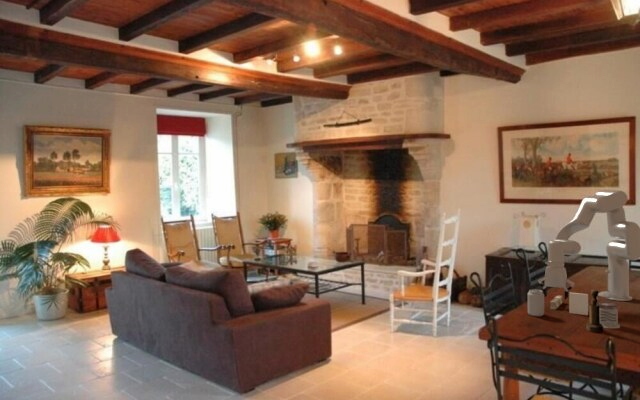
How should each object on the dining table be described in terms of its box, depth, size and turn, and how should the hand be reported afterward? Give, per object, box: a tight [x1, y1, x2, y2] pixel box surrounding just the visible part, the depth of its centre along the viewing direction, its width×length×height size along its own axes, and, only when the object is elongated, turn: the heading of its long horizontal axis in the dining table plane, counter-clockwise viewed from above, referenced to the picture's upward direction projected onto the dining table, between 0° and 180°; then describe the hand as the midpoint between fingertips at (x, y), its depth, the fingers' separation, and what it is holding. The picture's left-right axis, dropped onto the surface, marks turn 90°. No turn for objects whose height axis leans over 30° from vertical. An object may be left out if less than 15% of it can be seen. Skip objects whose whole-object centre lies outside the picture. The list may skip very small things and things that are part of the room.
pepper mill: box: [585, 288, 604, 333], centre depth 221 cm, size 7×6×18 cm
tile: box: [568, 291, 589, 316], centre depth 247 cm, size 2×8×10 cm, turn 55°
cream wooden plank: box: [549, 295, 563, 310], centre depth 263 cm, size 16×2×4 cm, turn 143°
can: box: [527, 289, 545, 317], centre depth 247 cm, size 8×8×12 cm
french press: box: [590, 269, 621, 329], centre depth 228 cm, size 10×12×25 cm
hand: (555, 297), depth 263 cm, fingers open, 9 cm apart
